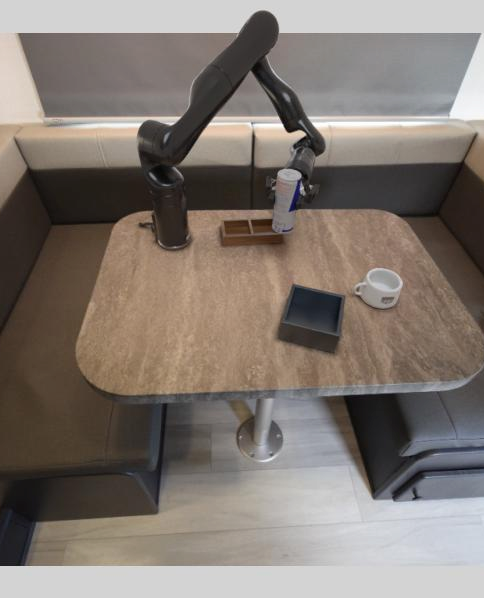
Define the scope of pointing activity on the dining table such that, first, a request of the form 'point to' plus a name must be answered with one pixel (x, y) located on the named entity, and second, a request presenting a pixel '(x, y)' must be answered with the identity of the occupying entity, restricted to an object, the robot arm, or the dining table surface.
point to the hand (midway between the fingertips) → (284, 204)
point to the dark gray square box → (312, 318)
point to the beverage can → (286, 200)
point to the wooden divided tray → (249, 231)
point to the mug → (380, 288)
